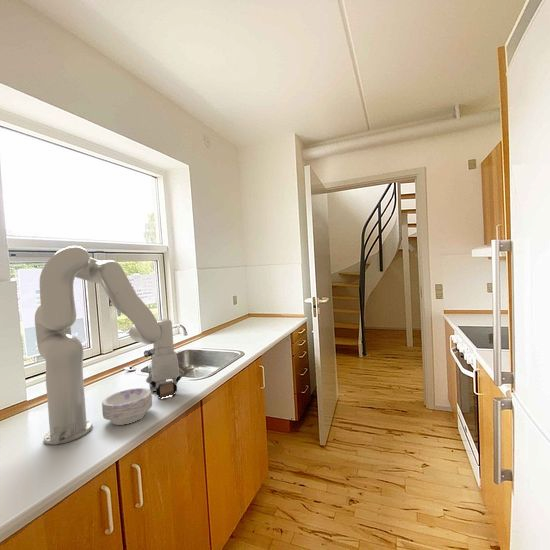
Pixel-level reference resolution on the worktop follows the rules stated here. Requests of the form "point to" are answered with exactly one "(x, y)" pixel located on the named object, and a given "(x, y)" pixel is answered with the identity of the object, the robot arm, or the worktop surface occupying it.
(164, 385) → the walnut cube
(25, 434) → the worktop surface
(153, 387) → the light bulb box
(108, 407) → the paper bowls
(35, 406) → the worktop surface
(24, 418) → the worktop surface
